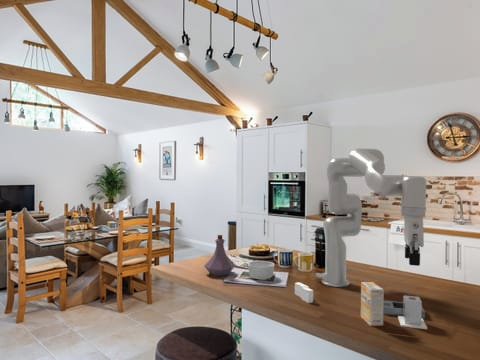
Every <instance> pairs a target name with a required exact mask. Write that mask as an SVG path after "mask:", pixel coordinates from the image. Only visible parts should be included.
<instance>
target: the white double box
mask: <svg viewBox="0 0 480 360" xmlns="http://www.w3.org/2000/svg"><path fill="white" fill-rule="evenodd" d="M294 295H296V296H298V297H300V298H301V300H302V301H304V302H306V303H308V304H310V303H314V289H311V288H310V287H309V286H308V285H306V284H304V283H302V282H301V281H300V282H295V283H294Z"/></svg>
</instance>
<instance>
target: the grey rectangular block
mask: <svg viewBox="0 0 480 360" xmlns="http://www.w3.org/2000/svg"><path fill="white" fill-rule="evenodd" d="M402 297H403V299H402V302H403V319H404V322H405V324H414V325H421V311H422V307H423V305H422V303H423V302H422V300H421V298H420V297H419V296H413V295H412V296H411V295H403V296H402Z"/></svg>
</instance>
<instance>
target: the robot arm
mask: <svg viewBox="0 0 480 360" xmlns="http://www.w3.org/2000/svg"><path fill="white" fill-rule="evenodd" d="M384 156H385V155H384V154H383V153H382V151H381V150H379V149H377V148H356V149H353V150H351V152H350V153H349V155H348V157H338V158H333V159H331V160H330V161H329V162H328V164H327V167H326V176H327V181H328V192H327V194H328V196H327V210H328V212H329V213H331V214H334V215H346V216H331V217H327V218H326V219H325V220H324V222H323V233H324V239H325V244H324V245H325V256H324V257H325V261H324V263H325V267H324V269H325V271H324V272H322V273H320V272H316V273H315V278H318V279H321V283H322V284H323V285H324V286H328V287H332V288H333V287H335V288H344V287H348V286H349V285H350V281H349V280H348V279H347V245H346V243H345V240H343V238H345V237H355V236H358V235H359V234H360V232H361V228H362V212H363V210H362V209H363V208H362V207H363V203H362V200H361V197H359V195H358V194H354V193H348V183H347V181H346V179H345V178H346V177H350V178H352V177H353V178H354V177H355V178H361V177H364V181H365V183H366V186H367V187H368V188H369V189H370V190H371V191H372V192H374V193H375V194H377V195H380V196H383V197H394V196H395V197H401V208H400V211H401V212H400V213H401V215H400V216H401V217H404V220H403V221H404V224H403V226H404V228H403V238H404V239H403V240H404V243H405V246H404V258H405V259H408V264H409V266H418V267H419V266H421V249H420V248H423V247H424V245H425V244H424V242H425V239H424V219H425V218H426V214H427V213H426V211H427V209H426V206H427V205H426V204H427V179H426V178H425V177H424V176H419V175H418V176H416V175H413V176H412V175H411V176H410V175H403V174H402V175H398V174H384V173H385V170H386V164H385V157H384ZM344 177H345V178H344Z"/></svg>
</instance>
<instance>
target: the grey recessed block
mask: <svg viewBox="0 0 480 360" xmlns="http://www.w3.org/2000/svg"><path fill="white" fill-rule="evenodd" d="M383 315H385V316H396V317H398V316H403V301H402V302H401V301H393V300H384V302H383ZM421 318H422V319H423V320H426V319H425V318H426V311H425V309H424V307H423V306H422V311H421Z"/></svg>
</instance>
